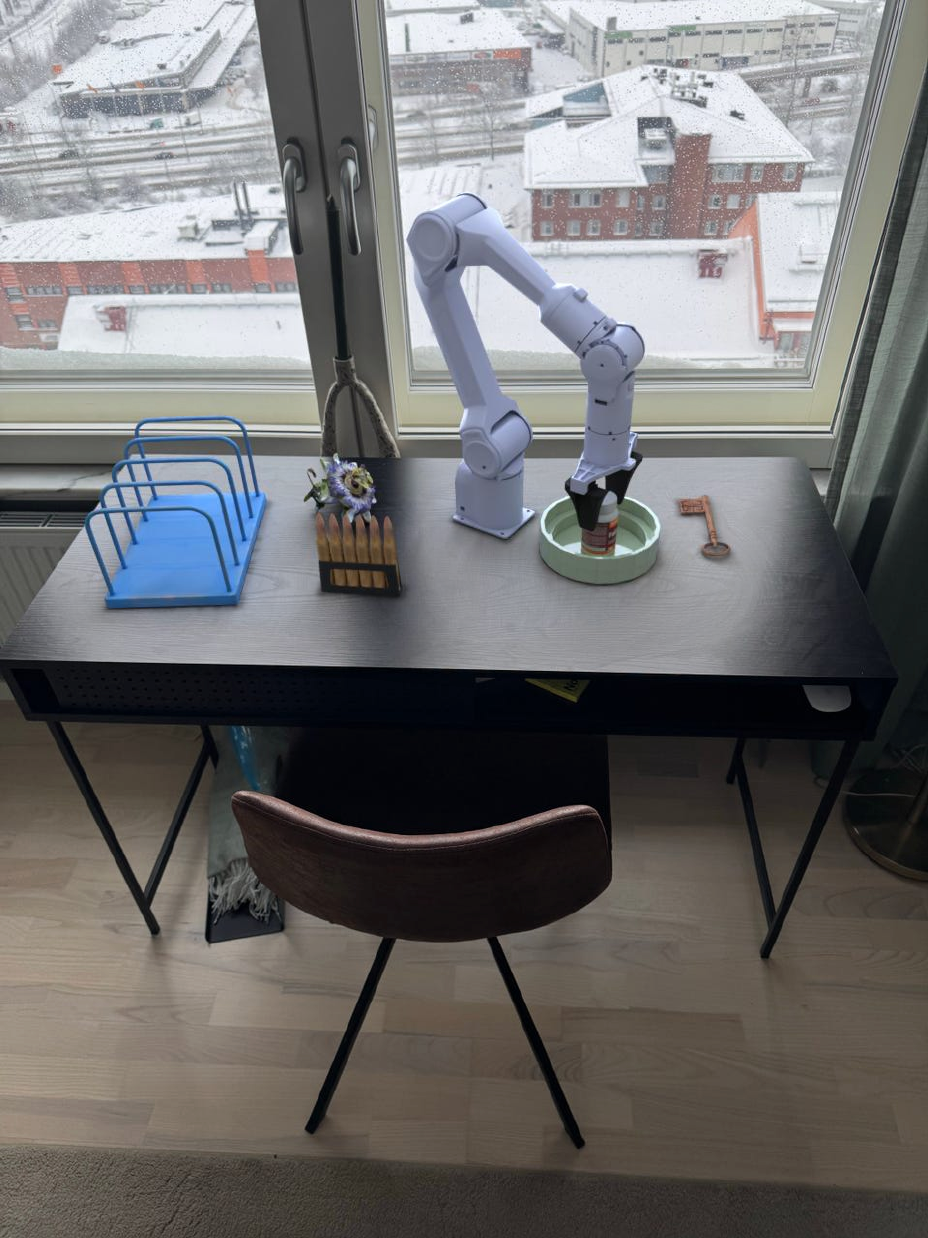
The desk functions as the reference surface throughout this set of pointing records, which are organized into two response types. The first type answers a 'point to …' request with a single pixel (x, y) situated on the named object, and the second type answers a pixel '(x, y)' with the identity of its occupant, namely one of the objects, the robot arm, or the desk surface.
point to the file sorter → (182, 533)
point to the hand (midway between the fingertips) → (601, 514)
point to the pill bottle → (602, 530)
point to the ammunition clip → (357, 558)
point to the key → (712, 532)
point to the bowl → (625, 563)
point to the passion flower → (344, 489)
